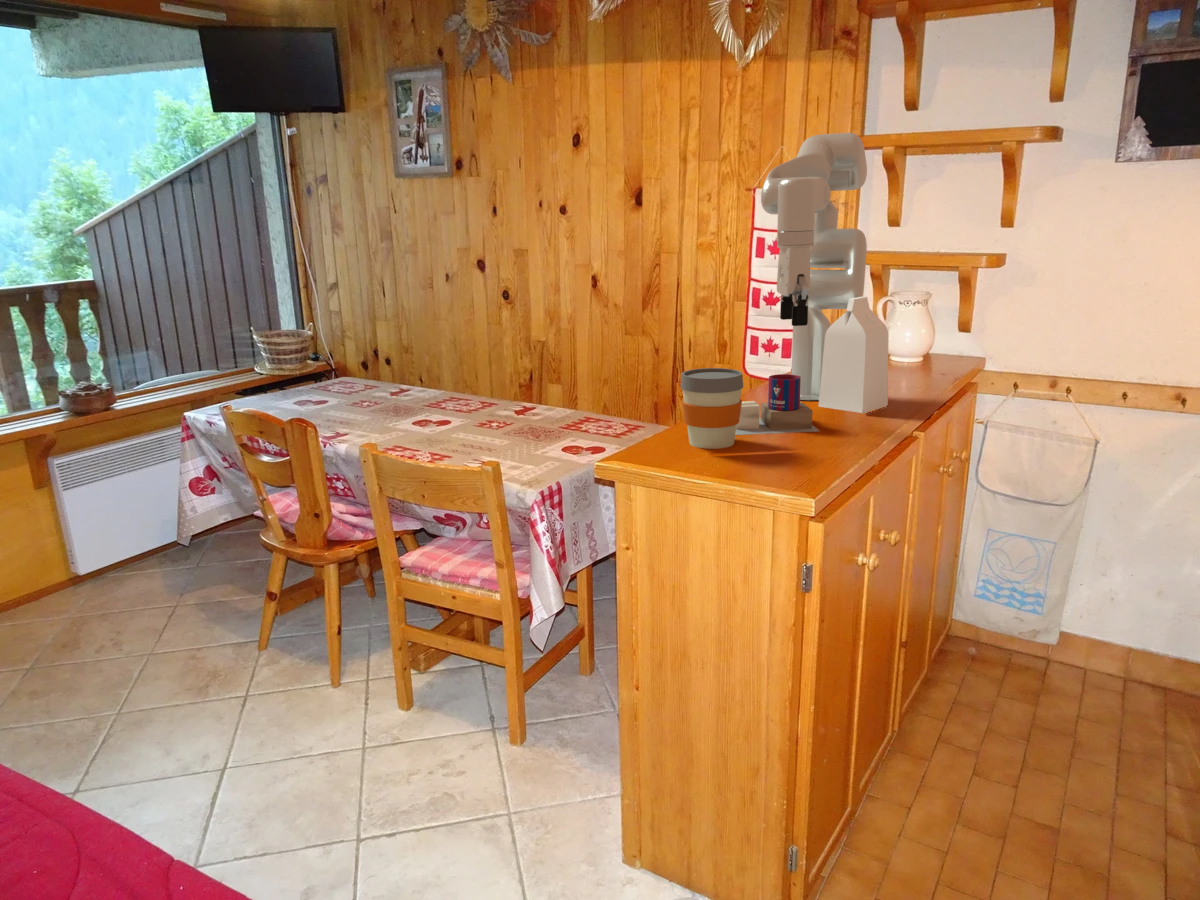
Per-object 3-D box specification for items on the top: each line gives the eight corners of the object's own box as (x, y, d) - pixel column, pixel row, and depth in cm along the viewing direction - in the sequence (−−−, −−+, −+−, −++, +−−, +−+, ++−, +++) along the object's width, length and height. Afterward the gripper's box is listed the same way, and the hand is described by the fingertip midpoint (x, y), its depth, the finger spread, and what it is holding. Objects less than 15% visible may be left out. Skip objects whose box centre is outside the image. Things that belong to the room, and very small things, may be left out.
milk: (844, 400, 210) (849, 294, 203) (887, 406, 202) (894, 296, 195) (818, 408, 202) (822, 299, 195) (862, 415, 194) (868, 301, 187)
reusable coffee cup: (729, 456, 165) (730, 380, 161) (670, 450, 171) (670, 376, 167) (751, 441, 176) (752, 369, 172) (695, 435, 182) (695, 366, 178)
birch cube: (731, 424, 188) (731, 402, 187) (753, 423, 188) (754, 401, 187) (736, 429, 183) (736, 406, 182) (759, 428, 183) (759, 405, 182)
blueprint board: (723, 422, 192) (723, 419, 192) (801, 418, 193) (801, 416, 193) (735, 437, 179) (735, 434, 179) (819, 433, 180) (819, 431, 179)
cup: (762, 408, 184) (762, 377, 182) (785, 400, 191) (786, 370, 189) (790, 412, 179) (790, 380, 178) (812, 404, 187) (813, 373, 185)
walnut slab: (760, 420, 190) (760, 403, 189) (800, 418, 190) (800, 401, 189) (770, 430, 181) (770, 412, 180) (811, 428, 182) (812, 410, 181)
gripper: (768, 239, 184) (766, 317, 189) (788, 242, 168) (786, 328, 172) (802, 237, 184) (800, 316, 189) (825, 241, 168) (822, 327, 173)
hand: (793, 322), depth 181 cm, fingers open, 9 cm apart
